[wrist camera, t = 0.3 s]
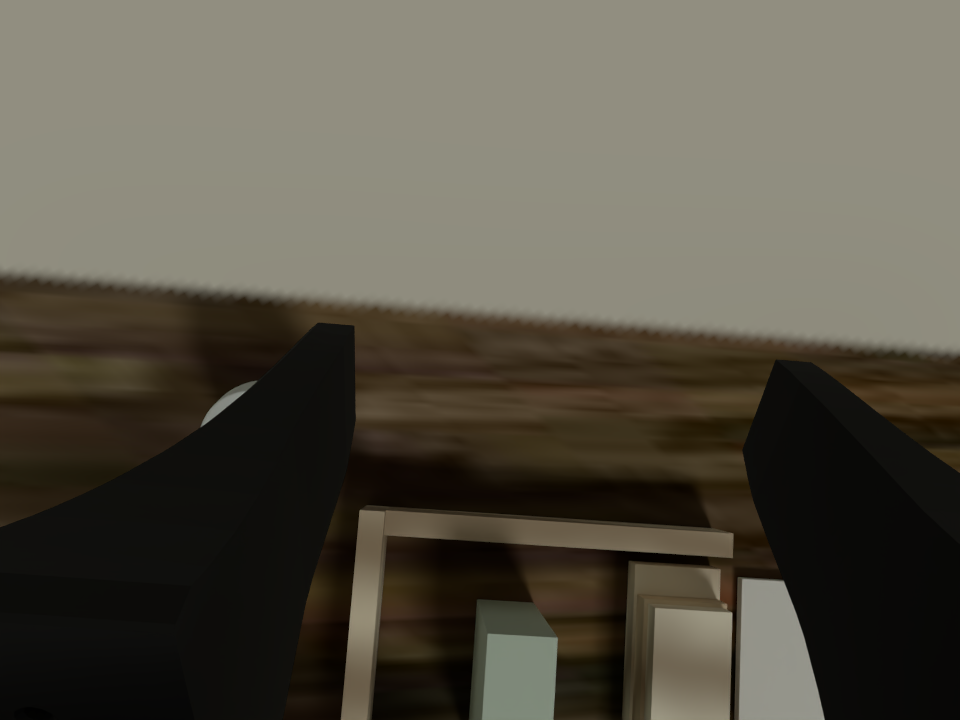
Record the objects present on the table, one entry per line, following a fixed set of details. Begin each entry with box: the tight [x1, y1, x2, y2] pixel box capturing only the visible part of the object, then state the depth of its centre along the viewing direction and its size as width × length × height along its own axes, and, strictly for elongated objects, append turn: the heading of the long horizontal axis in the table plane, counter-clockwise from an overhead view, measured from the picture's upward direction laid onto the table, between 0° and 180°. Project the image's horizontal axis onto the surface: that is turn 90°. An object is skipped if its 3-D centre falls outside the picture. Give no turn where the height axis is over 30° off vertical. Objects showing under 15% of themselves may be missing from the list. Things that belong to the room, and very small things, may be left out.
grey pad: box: [734, 577, 825, 720], centre depth 40 cm, size 11×11×1 cm
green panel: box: [469, 599, 558, 720], centre depth 36 cm, size 7×3×8 cm, turn 176°
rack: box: [341, 505, 733, 720], centre depth 38 cm, size 16×19×4 cm
